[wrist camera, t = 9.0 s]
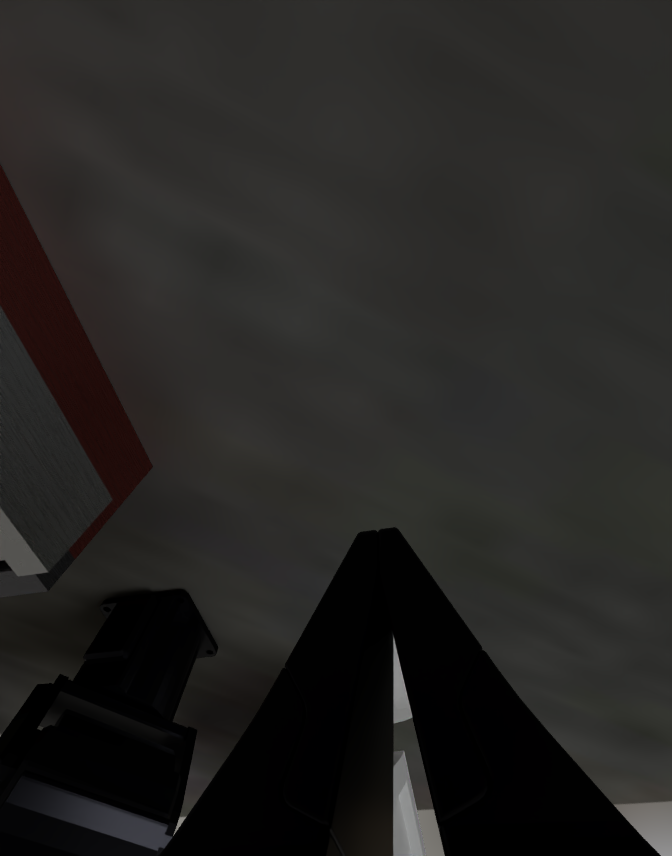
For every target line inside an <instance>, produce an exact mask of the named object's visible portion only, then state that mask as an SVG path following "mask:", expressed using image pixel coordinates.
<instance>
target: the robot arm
mask: <svg viewBox="0 0 672 856" xmlns="http://www.w3.org/2000/svg"><path fill="white" fill-rule="evenodd" d="M100 610H101V612H102V613H103V614H104V616H105V617H106V619H107V620H106V621H105V623H104V625H103V626H102V628H101V629H100V631H99V632H98V634H97V636H96V637H95V639H94V640H93V642H92V643H91V645H90V647H89V648H88V650H87V651H86V653H85V655H84V657H83V658H84V660H85V662H84V664H83V665H82V667H81V668H80V670H79V672H78V673H77V675H76V676H75V678H74V680H73V681H71V680H68V678H69V677H66V676H64V675H62V674H60V675H59V676H58V678H57V679H56V681H55V682H54V684H52V683H49V684H37V686H36V687H35V689H34V690H33V691H32V693H31V694H30V696H29V697H28V699H27V700H26V702H25V703H24V704H23V706H22V707H21V709H20V710H19V712H18V713H17V714H16V716H15V717H14V719H13V720H12V721H11V723H10V724H9V726H8V727H7V728H6V730H5V731H4V732H3V734H2V735H1V737H0V856H393V728H394V644H393V637H394V641H395V645H396V649H397V654H398V658H399V662H400V667H401V671H402V675H403V679H404V684H405V688H406V692H407V696H408V701H409V705H410V709H411V713H412V718H413V722H414V726H415V730H416V735H417V739H418V743H419V747H420V752H421V756H422V760H423V764H424V769H425V773H426V777H427V781H428V786H429V790H430V794H431V799H432V803H433V807H434V811H435V816H436V820H437V824H438V828H439V832H440V837H441V841H442V845H443V850H444V854H445V856H661V855H660V854H659V853H657V851H656V850H655V849H654V848H653V847H652V846H651V845H650V844H649V843H648V842H647V841H646V840H645V839H644V838H643V837H642V836H641V835H640V834H639V833H638V832H637V830H636V829H635V828H634V827H633V826H632V825H631V824H630V823H629V822H628V821H627V820H626V819H625V817H624V816H623V815H622V814H621V813H620V812H619V811H618V810H617V808H616V807H615V806H614V805H613V804H612V803H611V802H610V801H609V799H608V798H607V797H606V796H605V795H604V794H603V793H602V792H601V790H600V789H599V788H598V787H597V786H596V785H595V784H594V783H593V781H592V780H591V779H590V778H589V777H588V776H587V775H586V774H585V772H584V771H583V770H582V769H581V768H580V767H579V766H578V765H577V763H576V762H575V761H574V760H573V759H572V758H571V757H570V756H569V754H568V753H567V752H566V751H565V750H564V749H563V748H562V747H561V745H560V744H559V743H558V742H557V741H556V740H555V739H554V738H553V736H552V735H551V734H550V733H549V732H548V731H547V730H546V728H545V727H544V726H543V725H542V724H541V722H540V721H539V720H538V719H537V718H536V717H535V715H534V714H533V713H532V712H531V711H530V709H529V708H528V707H527V706H526V705H525V704H524V702H523V701H522V700H521V699H520V698H519V696H518V695H517V694H516V692H515V691H514V690H513V688H512V687H511V686H510V684H509V683H508V682H507V680H506V679H505V678H504V676H503V675H502V674H501V672H500V671H499V670H498V668H497V667H496V666H495V664H494V663H493V661H492V660H491V659H490V657H489V656H488V654H487V653H486V652H485V651H483V650H482V646H481V645H480V644H479V642H478V641H477V639H476V638H475V636H474V635H473V634H472V632H471V631H470V629H469V628H468V627H467V625H466V624H465V622H464V621H463V620H462V618H461V617H460V615H459V614H458V613H457V611H456V610H455V608H454V607H453V606H452V604H451V603H450V601H449V600H448V599H447V597H446V596H445V594H444V593H443V591H442V590H441V589H440V587H439V586H438V584H437V583H436V582H435V580H434V579H433V577H432V576H431V575H430V573H429V572H428V570H427V569H426V568H425V566H424V565H423V563H422V562H421V561H420V559H419V558H418V556H417V555H416V553H415V552H414V551H413V549H412V548H411V546H410V545H409V544H408V542H407V541H406V539H405V538H404V537H403V535H402V534H401V532H400V531H399V530H398V529H397V528H395V527H393V528H386V529H380V530H379V531H378V532H377V531H376V530H371V531H364V532H360V533H358V534H357V536H356V538H355V540H354V542H353V543H352V545H351V547H350V549H349V551H348V552H347V554H346V556H345V558H344V559H343V561H342V563H341V565H340V567H339V568H338V570H337V572H336V574H335V576H334V577H333V579H332V581H331V583H330V585H329V586H328V588H327V590H326V592H325V594H324V595H323V597H322V599H321V601H320V603H319V604H318V606H317V608H316V610H315V612H314V613H313V615H312V617H311V619H310V621H309V622H308V624H307V626H306V628H305V630H304V631H303V633H302V635H301V637H300V638H299V640H298V642H297V644H296V646H295V647H294V649H293V651H292V653H291V655H290V656H289V658H288V660H287V662H286V664H285V668H286V669H285V668H283V669H282V670H281V672H280V674H279V676H278V678H277V679H276V681H275V683H274V685H273V687H272V688H271V690H270V692H269V693H268V695H267V697H266V699H265V700H264V702H263V704H262V705H261V707H260V709H259V710H258V712H257V714H256V715H255V717H254V719H253V720H252V722H251V723H250V725H249V726H248V728H247V729H246V731H245V732H244V734H243V735H242V737H241V738H240V740H239V741H238V743H237V744H236V746H235V747H234V749H233V750H232V752H231V753H230V755H229V756H228V758H227V759H226V760H225V762H224V763H223V765H222V766H221V768H220V769H219V771H218V772H217V774H216V775H215V776H214V778H213V779H212V781H211V782H210V784H209V785H208V787H207V788H206V789H205V791H204V792H203V794H202V795H201V797H200V798H199V800H198V801H197V803H196V804H195V805H194V807H193V808H192V810H191V811H190V813H189V814H188V816H187V817H186V819H185V820H184V821H183V823H182V824H181V826H180V827H179V829H178V830H177V832H176V833H175V834H174V831H175V829H176V826H177V823H178V820H179V816H180V813H181V809H182V805H183V800H184V795H185V790H186V785H187V780H188V775H189V770H190V765H191V760H192V755H193V750H194V745H195V740H196V734H197V730H196V729H194V728H191V727H188V728H186V727H184V726H182V725H179V724H177V723H174V722H172V721H173V718H174V716H175V713H176V710H177V708H178V705H179V702H180V700H181V697H182V694H183V692H184V689H185V686H186V684H187V681H188V678H189V676H190V673H191V670H192V668H193V665H194V662H195V659H196V658H202V657H212V656H215V655H216V653H217V650H218V646H217V644H216V642H215V640H214V639H213V637H212V635H211V633H210V631H209V629H208V628H207V626H206V624H205V622H204V620H203V619H202V617H201V615H200V613H199V611H198V609H197V608H196V606H195V604H194V602H193V600H192V598H191V597H190V595H189V594H188V593H187V592H186V591H172V592H164V593H156V594H148V595H140V596H132V597H124V598H116V599H108V600H104V601H103V603H102V604H101V606H100ZM38 726H42V727H45V728H43V729H42V731H41V730H38V729H37V728H38ZM173 834H174V836H173Z"/></svg>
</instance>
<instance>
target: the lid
mask: <svg viewBox="0 0 672 856" xmlns="http://www.w3.org/2000/svg"><path fill="white" fill-rule="evenodd" d="M112 500H113V499H112V497H111V495H110V494H109V492H108V490H107V488H106V487H105V485H104V483H103V482H102V480H101V478H100V476H99V475H98V473H97V471H96V470H95V468H94V466H93V464H92V463H91V461H90V459H89V457H88V456H87V454H86V452H85V451H84V449H83V447H82V445H81V444H80V442H79V440H78V439H77V437H76V435H75V433H74V432H73V430H72V428H71V427H70V425H69V423H68V421H67V420H66V418H65V416H64V414H63V413H62V411H61V409H60V408H59V406H58V404H57V402H56V401H55V399H54V397H53V396H52V394H51V392H50V390H49V389H48V387H47V385H46V383H45V382H44V380H43V378H42V377H41V375H40V373H39V371H38V370H37V368H36V366H35V365H34V363H33V361H32V359H31V358H30V356H29V354H28V353H27V351H26V349H25V347H24V346H23V344H22V342H21V340H20V339H19V337H18V335H17V334H16V332H15V330H14V328H13V327H12V325H11V323H10V322H9V320H8V318H7V316H6V315H5V313H4V311H3V309H2V308H1V306H0V561H1V560H5V561H6V562H7V564H8V565H9V566H10V567H11V569H12V570H13V571H14V572H15V574H16V575H17V576H26V575H33V574H40V573H47V572H49V571H50V570H51V569H52V568H53V567H54V565H55V564H56V563H57V562H58V561H59V560H60V559H61V558H62V556H63V555H64V554H65V553H66V552H67V551H68V550H69V549H70V547H71V546H72V545H73V544H74V543H75V542H76V541H77V539H78V538H79V537H80V536H81V535H82V534H83V533H84V532H85V530H86V529H87V528H88V527H89V526H90V525H91V524H92V523H93V521H94V520H95V519H96V518H97V517H98V516H99V515H100V514H101V512H102V511H103V510H104V509H105V508H106V507H107V506H108V505H109V503H110V502H111V501H112Z"/></svg>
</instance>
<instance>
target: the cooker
mask: <svg viewBox="0 0 672 856" xmlns="http://www.w3.org/2000/svg"><path fill="white" fill-rule="evenodd" d="M0 306H1V308H2V309H3V311H4V313H5V315H6V316H7V318H8V320H9V322H10V323H11V325H12V327H13V328H14V330H15V332H16V334H17V335H18V337H19V339H20V340H21V342H22V344H23V346H24V347H25V349H26V351H27V353H28V354H29V356H30V358H31V359H32V361H33V363H34V365H35V366H36V368H37V370H38V371H39V373H40V375H41V377H42V378H43V380H44V382H45V383H46V385H47V387H48V389H49V390H50V392H51V394H52V396H53V397H54V399H55V401H56V402H57V404H58V406H59V408H60V409H61V411H62V413H63V414H64V416H65V418H66V420H67V421H68V423H69V425H70V427H71V428H72V430H73V432H74V433H75V435H76V437H77V439H78V440H79V442H80V444H81V445H82V447H83V449H84V451H85V452H86V454H87V456H88V457H89V459H90V461H91V463H92V464H93V466H94V468H95V470H96V471H97V473H98V475H99V476H100V478H101V480H102V482H103V483H104V485H105V487H106V488H107V490H108V492H109V494H110V495H111V497H112V499H113V500H112V501H111V502H110V503H109V505H108V506H107V507H106V508H105V509H104V510H103V511H102V512H101V514H100V515H99V516H98V517H97V518H96V519H95V520H94V521H93V523H92V524H91V525H90V526H89V527H88V528H87V529H86V530H85V532H84V533H83V534H82V535H81V536H80V537H79V538H78V539H77V541H76V542H75V543H74V544H73V545H72V546H71V547H70V549H69V550H68V551H67V552H66V553H65V554H64V555H63V556H62V558H61V559H60V560H59V561H58V562H57V563H56V564H55V565H54V567H53V568H52V569H51V570H50V571H49V572H47V573H40V574H33V575H26V576H17V575H16V574H15V572H14V571H13V570H12V569H11V567H10V566H9V565H8V564H7V562H6V561H5V560H1V561H0V597H8V596H16V595H23V594H31V593H38V592H46V591H49V590H50V588H51V587H52V586H53V585H54V584H55V582H56V581H57V580H58V579H59V578H60V576H61V575H62V574H63V573H64V572H65V571H66V569H67V568H68V567H69V566H70V565H71V563H72V562H73V561H74V560H75V559H76V557H77V556H78V555H79V554H80V553H81V552H82V550H83V549H84V548H85V547H86V546H87V544H88V543H89V542H90V541H91V540H92V538H93V537H94V536H95V535H96V534H97V533H98V531H99V530H100V529H101V528H102V527H103V525H104V524H105V523H106V522H107V521H108V519H109V518H110V517H111V516H112V515H113V514H114V512H115V511H116V510H117V509H118V508H119V506H120V505H121V504H122V503H123V502H124V500H125V499H126V498H127V497H128V496H129V495H130V493H131V492H132V491H133V490H134V489H135V487H136V486H137V485H138V484H139V483H140V481H141V480H142V479H143V478H144V477H145V476H146V474H147V473H148V472H149V471H150V470H151V468H152V467H153V466H152V464H151V462H150V460H149V458H148V456H147V454H146V452H145V450H144V448H143V446H142V444H141V442H140V441H139V439H138V437H137V435H136V433H135V431H134V429H133V427H132V425H131V423H130V421H129V419H128V417H127V415H126V413H125V411H124V409H123V407H122V405H121V403H120V401H119V399H118V397H117V395H116V393H115V391H114V389H113V387H112V385H111V383H110V381H109V379H108V377H107V375H106V373H105V371H104V369H103V367H102V365H101V363H100V361H99V359H98V357H97V355H96V353H95V351H94V349H93V347H92V345H91V343H90V341H89V339H88V337H87V335H86V333H85V331H84V329H83V327H82V325H81V323H80V321H79V319H78V317H77V315H76V314H75V312H74V310H73V308H72V306H71V304H70V302H69V300H68V298H67V296H66V294H65V292H64V290H63V288H62V286H61V284H60V282H59V280H58V278H57V276H56V274H55V272H54V270H53V268H52V266H51V264H50V262H49V260H48V258H47V256H46V254H45V252H44V250H43V248H42V246H41V244H40V242H39V240H38V238H37V236H36V234H35V232H34V230H33V228H32V226H31V224H30V222H29V220H28V218H27V216H26V214H25V212H24V210H23V208H22V206H21V204H20V202H19V200H18V198H17V196H16V194H15V192H14V190H13V189H12V187H11V185H10V183H9V181H8V179H7V177H6V175H5V173H4V171H3V169H2V167H1V165H0Z"/></svg>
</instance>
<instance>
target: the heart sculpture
mask: <svg viewBox="0 0 672 856" xmlns="http://www.w3.org/2000/svg"><path fill="white" fill-rule="evenodd" d="M393 644H394V723H397V722H401V721H405V720H407V719H410V718H412V713H411V709H410V705H409V701H408V696H407V692H406V688H405V684H404V679H403V675H402V671H401V667H400V662H399V658H398V654H397V649H396V645H395V641H394V637H393ZM393 856H426V851H425V846H424V841H423V836H422V831H421V826H420V822H419V817H418V813H417V808H416V804H415V799H414V795H413V790H412V786H411V781H410V777H409V772H408V767H407V762H406V758H405V753H404V751H395V752H393Z"/></svg>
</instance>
